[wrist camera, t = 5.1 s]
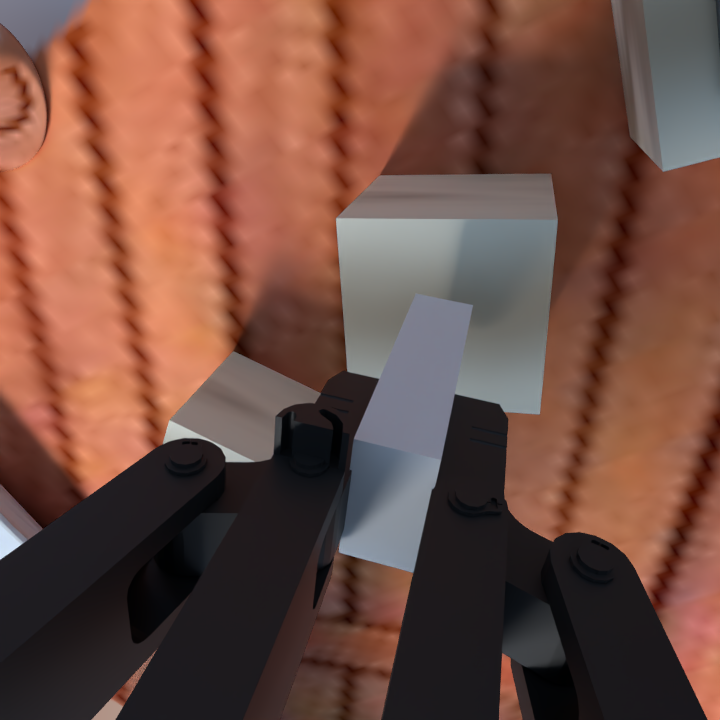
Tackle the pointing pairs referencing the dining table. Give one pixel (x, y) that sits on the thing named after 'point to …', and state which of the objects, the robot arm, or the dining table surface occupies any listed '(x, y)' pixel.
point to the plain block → (454, 273)
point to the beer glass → (19, 105)
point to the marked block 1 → (239, 409)
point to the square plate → (14, 524)
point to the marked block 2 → (671, 77)
